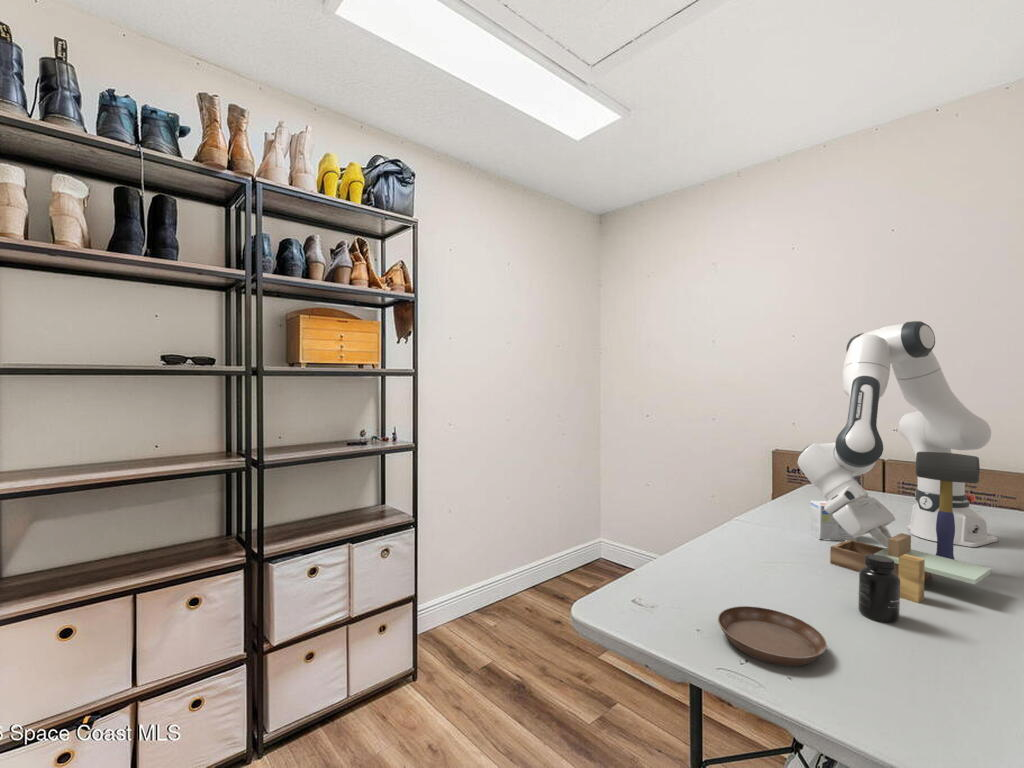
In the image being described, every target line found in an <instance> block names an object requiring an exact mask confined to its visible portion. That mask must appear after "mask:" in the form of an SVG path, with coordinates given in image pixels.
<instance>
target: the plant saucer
mask: <svg viewBox="0 0 1024 768" xmlns="http://www.w3.org/2000/svg"><path fill="white" fill-rule="evenodd" d="M717 622H718V625H719V627H720V629H721V631H722V632H723V634H724V635H725V637H726V638H727V639H728V640H729V641H730V643H731V644H732V645H733V646H735V647H736V648H737V649H738V650H739V651H741V652H743V653H745V654H746V655H747V656H750V657H752V658H754V659H756V660H759V661H762V662H765V663H770V664H774V665H777V666H785V667H797V666H798V667H799V666H803V665H808V664H810V663H811V662H814V661H816V660H817V659H818V658H819V657H821V656H822V655H823V654H824V652H825V651H826V650H827V647H828V645H827V640H826V639H825V637H824V635H823V634H822V633H820V631H818V630H817V629H816V628H815V627H813V625H810V624H809V623H807V622H806V621H803V620H801V619H800V618H797V617H795V616H793V615H790V614H789V613H788V614H787V613H785V612H782V611H779V610H778V611H777V610H774V609H769V608H765V607H759V606H749V605H748V606H747V605H744V606H741V605H740V606H733V607H732V606H731V607H729V608H726V609H724V610H722V611H721V612H720V613H719V614H718V617H717Z"/></svg>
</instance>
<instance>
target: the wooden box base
mask: <svg viewBox="0 0 1024 768" xmlns="http://www.w3.org/2000/svg"><path fill="white" fill-rule="evenodd" d="M885 548H886V547H881V546H877V545H874V544H870V543H865V542H862V541H859V540H858V541H854V540H850V539H849V540H847V541H842V542H841V541H840V543H836V544H835V545H832V546H830V551H829V553H830V555H829V556H830V557H829V558H830V559H829V561H830V562H829V564H830V563H832V564H831V565H833V564H835V565H834V566H837V565H838V566H837V567H840V566H841V567H840V568H843V567H844V569H847V568H848V569H847V570H850V569H851V570H850V571H853V572H857V573H859V571H860V570H861V569H862V568H863V567H866V565H865V557H866V555H868V554H874V553H876V552H879V551H881V550H883V549H885ZM894 567H895V570H894V571H893V572H894V573H895V574H897V575H898V570H899V564H896V563H894ZM932 574H933V573H930V572H926V571H925V574H924V583H926V582H928V581H929V580H931V579H932Z"/></svg>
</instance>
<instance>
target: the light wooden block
mask: <svg viewBox="0 0 1024 768" xmlns="http://www.w3.org/2000/svg"><path fill="white" fill-rule="evenodd" d="M924 574H925V559H923V558H919V557H915V556H911V555H907V554H904V555H902V556H900V557H899V570H898V577H899V578H900V599H904V600H907V601H910V602H913V603H916V604H920V603H921V602H922V601H923V600H924V599H925V582H924Z"/></svg>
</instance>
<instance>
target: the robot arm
mask: <svg viewBox="0 0 1024 768" xmlns="http://www.w3.org/2000/svg"><path fill="white" fill-rule="evenodd" d="M935 345H936V335H935V332H934V330H933V329H932V327H931V326H930V325H928V324H927V323H925V322H923V321H921V320H918V321H915V320H914V321H907V322H905V323H898V324H892V325H885V326H883V327H881V328H877V329H876V328H875V329H873V330H870V331H867V332H861V333H859V334H857V335H855V336H852V337H851V338H850V339H849V341H848V342H847V343H846V348H845V349H846V351H845V352H846V354H845V358H844V360H843V361H844V363H843V367H842V373H841V378H842V379H841V381H842V382H841V383H842V390H843V392H844V393H845V394H846V395H847V396H848V397H849V405H848V411H847V419H846V420H847V421H846V424H845V426H844V427H843V428H842V430H840V432H839V433H838V435H837V437H836V438H835V442H827V443H816V442H812V443H811V444H809V445H807V446H806V447H805V448H804V449H803V450H802V451H801V452H800V453H799V455H798V458H797V463H796V464H797V465H798V468H799V469H800V470H801V472H802V473H803V474H804V475H805V477H806V478H807V479H808V480H809V482H810V483H811V484H812V485H813V486H814V487H816V488H817V489H819V491H820V492H821V494H822V496H823V497H824V499H825V501H827V503H826V505H825V507H824V509H825V510H826V512H827V513H828V514H833V517H834V519H835V520H836V521H837V522H838V523H839V525H840V526H841V527H842V528H843V529H844V530H845V531H846V532H847V533H848V534H849V535H851V536H852V537H854V538H856V537H857V538H859V537H861V536H864V535H866V534H869V535H871V537H872V538H874V539H875V540H876V541H878V542H880V543H881V544H882V545H883V547H884V548H887V547H888V539H889V538H891V537H892V535H891V533H890V532H889V529H888V528H887V527H888V525H890V524H892V523H893V522H895V521H896V519H897V518H896V517H895V515H894V514H893V513H892V512H891V511H890V510H889V509H888V508H887V507H886V506H885V505H884V504H883V503H881V502H880V500H879V499H877V498H875V497H874V496H869V493H868V492H867V491H866V490H865V488H864V487H862V486H861V484H859V482H858V481H857V480H856V479H855V478H856V477H859V476H861V475H864V474H867V473H868V472H870V471H872V469H873V468H874V466H875V465H876V462H878V460H879V459H880V458H881V457H882V455H883V452H884V442H883V440H882V437H881V435H880V433H879V430H878V427H877V426H878V425H877V422H878V412H879V402H880V399H881V397H883V396H884V395H885V392H886V389H887V387H888V383H889V380H890V374H891V368H892V371H893V374H894V376H895V378H896V382H897V384H898V386H899V388H900V391H901V393H902V396H903V398H904V399H905V401H906V402H907V403H908V404H909V405H911V406H912V407H914V408H916V409H917V411H911V412H906V413H905V414H904V415H903V416H902V417H901V418H900V420H899V423H898V431H899V433H900V435H901V436H902V437H903V438H904V439H905V440H906V441H907V442H908V444H909V445H910V448H911V450H912V452H913V455H914V457H915V460H916V455H917V452H943V453H953V452H952V450H956V451H972V450H973V451H974V450H980V449H982V448H984V447H985V446H987V445H988V443H989V442H990V440H991V437H992V429H991V426H990V425H989V423H988V422H987V421H986V420H985V419H983V418H981V417H979V416H978V415H976V414H975V413H973V412H972V411H970V410H969V409H968V407H966V406H965V405H964V404H963V403H962V401H960V399H959V398H958V397H957V396H956V395H955V393H954V392H953V391H952V389H951V387H950V385H949V383H948V381H947V379H946V376H945V375H944V372H943V369H942V368H941V365H940V363H939V360H938V359H937V357H936V355H935V353H934V352H933V350H934V348H935ZM916 477H917V487H916V488H915V493H914V496H915V497H914V498H915V501H916V503H914V504H913V505H912V511H911V516H910V517H911V518H910V519H911V520H910V524H908V525H907V529H908V530H909V533H910V535H913V536H914V537H917V538H921V539H924V540H928V541H933V542H936V543H937V534H936V521H937V514H938V511H939V503H940V480H934V479H927V478H922V477H918V476H916ZM965 489H966V483H961V482H953V506H952V512H953V514H954V520H955V536H954V542H953V545H957V546H963V547H969V548H976V547H980V546H981V547H982V546H984V545H988V544H991V543H995V542H998V541H999V538H998V537H997V536H995V535H992V534H989V533H988V526H987V521H986V520H985V519H984V518H983V517H982V516H981V515H979V514H978V513H977V512H976V511H975V510H973V509H972V508H971V507H970V502H971V503H975V502H976V500H977V498H976V496H975V495H974V494H973V495H972V494H968V493H967V494H966V493H965V491H966V490H965Z"/></svg>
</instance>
